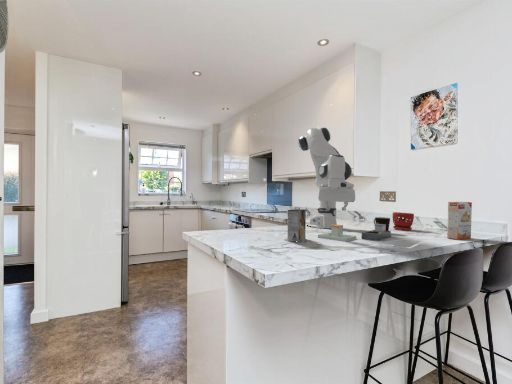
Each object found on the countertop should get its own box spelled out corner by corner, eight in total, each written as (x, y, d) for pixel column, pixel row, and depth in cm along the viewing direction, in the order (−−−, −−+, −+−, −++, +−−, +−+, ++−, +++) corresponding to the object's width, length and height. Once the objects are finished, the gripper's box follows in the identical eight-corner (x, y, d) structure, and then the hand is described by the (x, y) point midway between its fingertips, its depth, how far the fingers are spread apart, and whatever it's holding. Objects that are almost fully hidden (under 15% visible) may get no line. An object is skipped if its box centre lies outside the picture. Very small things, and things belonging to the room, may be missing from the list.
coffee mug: (391, 235, 164) (392, 218, 164) (376, 234, 166) (376, 218, 166) (386, 232, 176) (386, 216, 176) (372, 231, 178) (372, 216, 178)
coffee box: (294, 238, 147) (294, 208, 147) (305, 240, 143) (306, 209, 143) (287, 241, 139) (287, 209, 139) (298, 242, 135) (299, 210, 135)
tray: (318, 238, 148) (318, 234, 148) (329, 236, 157) (329, 232, 157) (345, 242, 137) (345, 238, 137) (356, 239, 145) (356, 236, 145)
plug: (331, 238, 146) (331, 225, 146) (335, 237, 150) (335, 224, 150) (338, 239, 143) (338, 225, 143) (342, 238, 147) (343, 225, 147)
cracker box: (458, 240, 149) (459, 202, 149) (446, 238, 155) (447, 201, 155) (472, 238, 156) (472, 201, 156) (460, 236, 161) (460, 201, 161)
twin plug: (374, 236, 153) (374, 224, 153) (378, 235, 157) (378, 223, 157) (382, 237, 150) (382, 225, 150) (385, 236, 154) (385, 224, 154)
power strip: (361, 240, 145) (361, 231, 145) (376, 236, 160) (376, 228, 160) (377, 242, 140) (377, 233, 140) (390, 237, 154) (390, 230, 154)
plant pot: (409, 231, 182) (409, 213, 182) (389, 229, 192) (389, 212, 192) (416, 230, 190) (416, 212, 190) (396, 228, 200) (397, 211, 200)
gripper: (316, 184, 152) (315, 209, 152) (351, 184, 138) (350, 211, 137) (322, 184, 157) (322, 208, 156) (356, 184, 142) (356, 211, 142)
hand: (335, 210), depth 147 cm, fingers open, 8 cm apart
